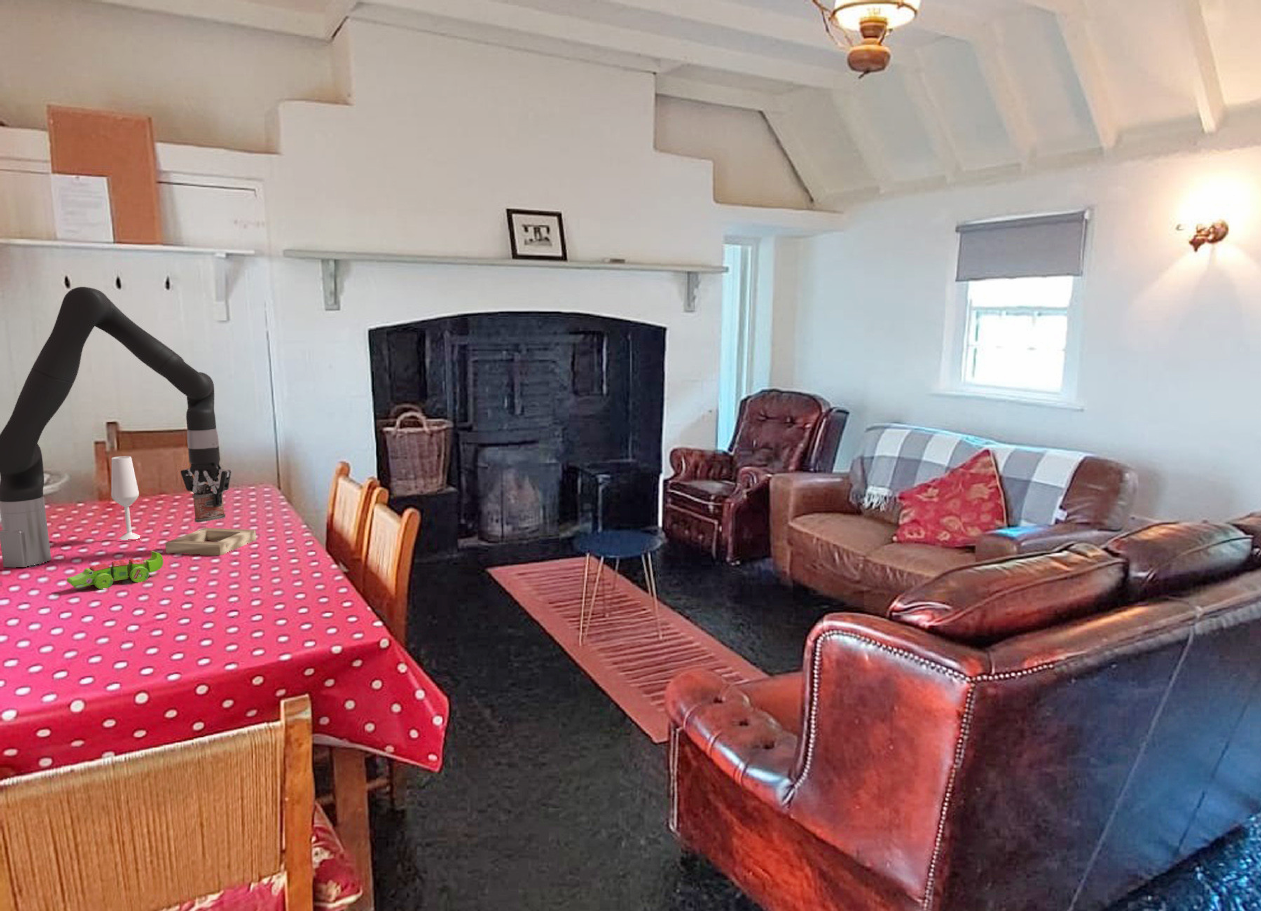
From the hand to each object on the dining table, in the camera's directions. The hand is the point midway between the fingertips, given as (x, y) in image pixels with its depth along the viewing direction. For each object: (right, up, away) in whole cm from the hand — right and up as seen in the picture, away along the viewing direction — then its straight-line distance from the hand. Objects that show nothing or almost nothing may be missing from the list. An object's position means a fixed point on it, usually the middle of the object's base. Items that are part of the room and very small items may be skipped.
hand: (209, 505), depth 219 cm
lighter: (0, -4, +1) cm, 4 cm away
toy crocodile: (-6, -17, -29) cm, 34 cm away
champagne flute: (-28, -10, +10) cm, 32 cm away
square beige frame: (0, -12, +2) cm, 12 cm away
